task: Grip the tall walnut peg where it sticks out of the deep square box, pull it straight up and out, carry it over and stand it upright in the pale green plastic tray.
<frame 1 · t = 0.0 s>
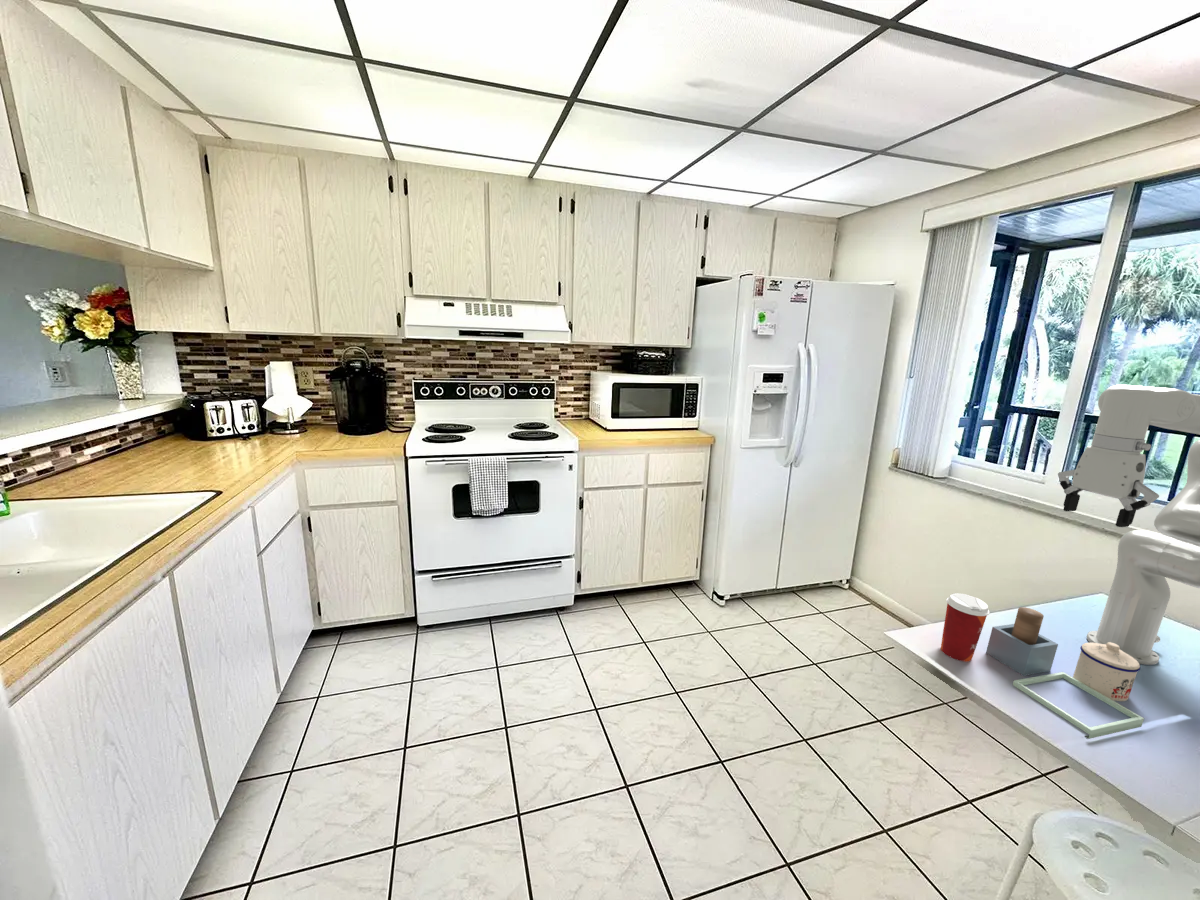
hand: (1094, 518, 108), 37 cm above the table, tool pointing down, fingers open, 9 cm apart
tray: (1073, 706, 101), on the table
teacup with lid: (1100, 689, 107), on the table
peg: (1017, 661, 113), point 1 cm above the table, touching deep square box
coffee cup: (954, 657, 116), on the table
deep square box: (1016, 665, 114), on the table
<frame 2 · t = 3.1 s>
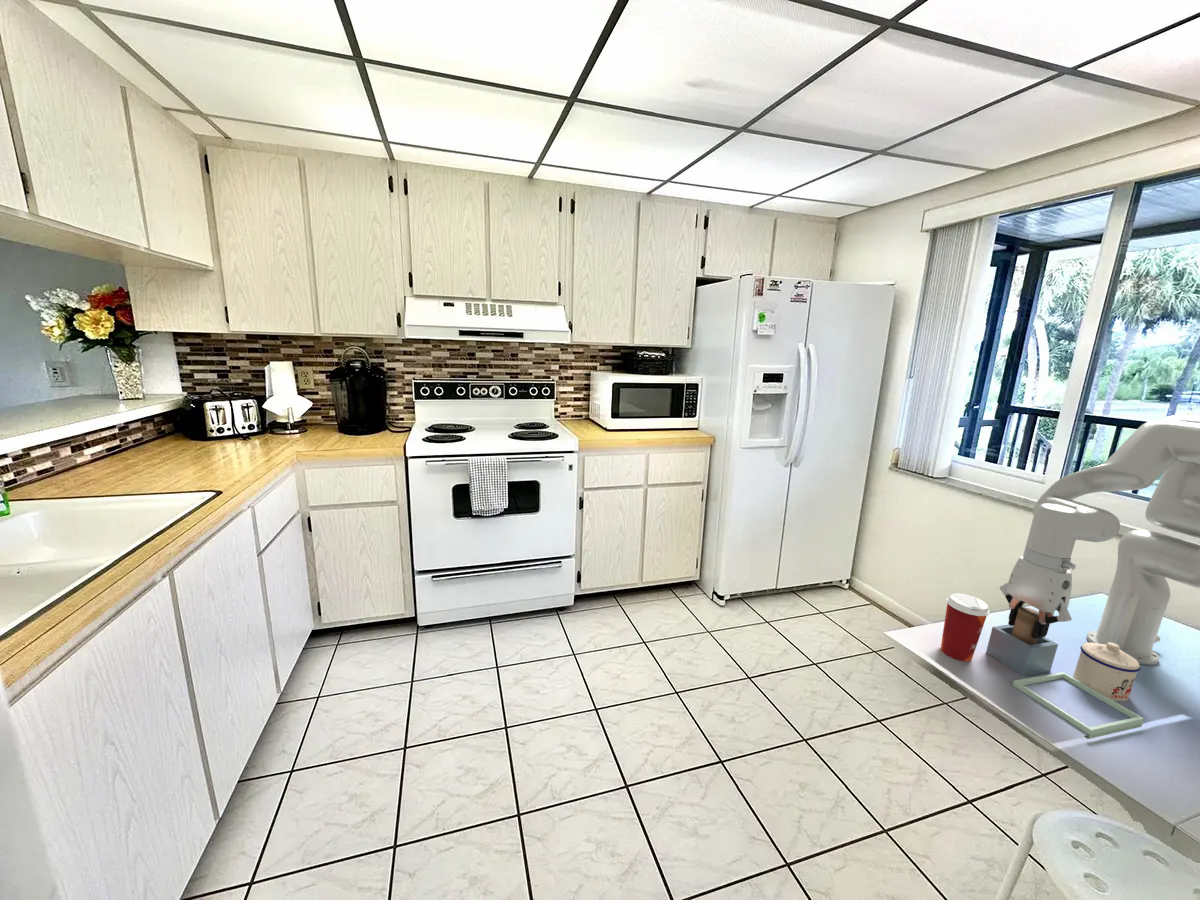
hand: (1025, 630, 111), 9 cm above the table, tool pointing down, fingers closed on peg, 4 cm apart
peg: (1017, 661, 113), point 1 cm above the table, touching deep square box, gripper
everything else where it was.
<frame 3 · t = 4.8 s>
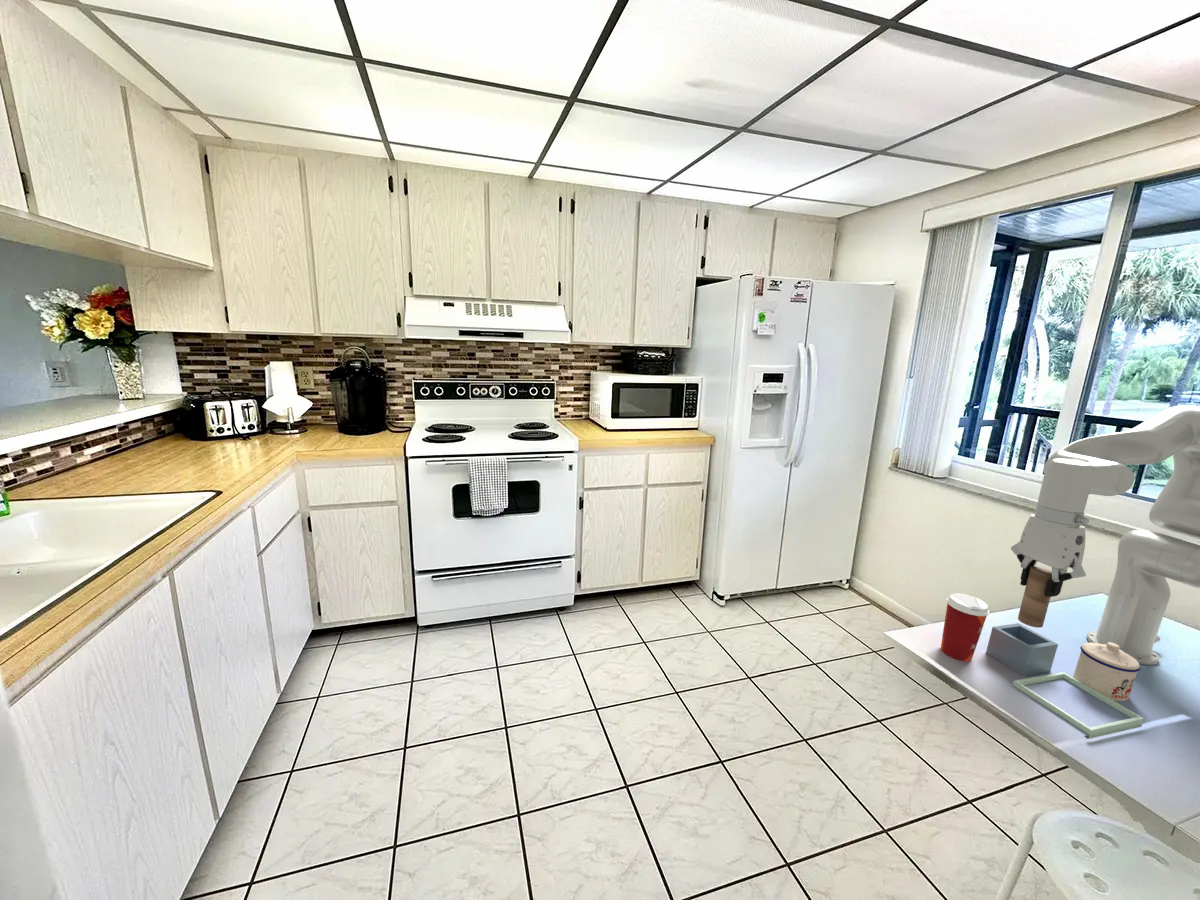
hand: (1038, 589, 109), 20 cm above the table, tool pointing down, fingers closed on peg, 4 cm apart
peg: (1030, 622, 111), point 11 cm above the table, touching gripper
everything else where it was.
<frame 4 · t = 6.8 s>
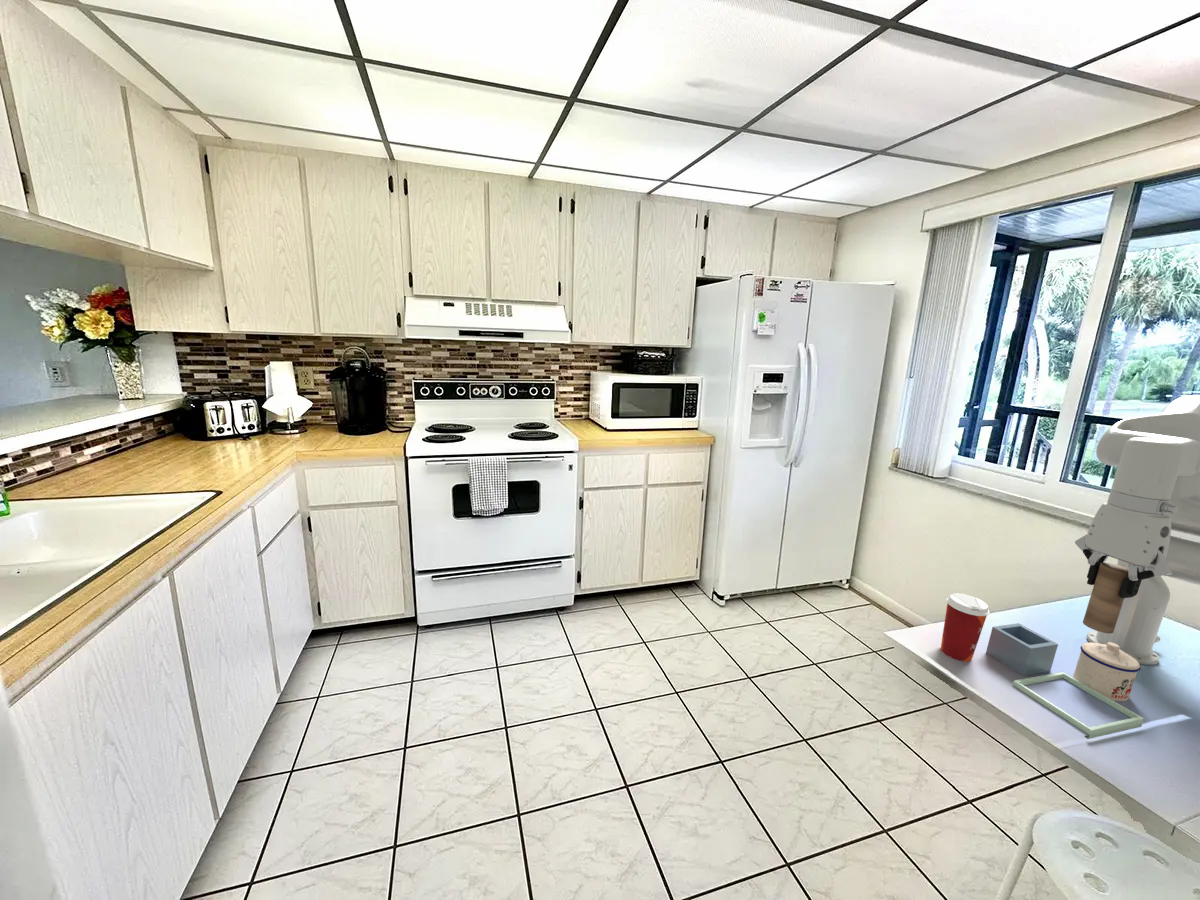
hand: (1109, 589, 95), 27 cm above the table, tool pointing down, fingers closed on peg, 4 cm apart
peg: (1097, 626, 97), point 19 cm above the table, touching gripper
everything else where it was.
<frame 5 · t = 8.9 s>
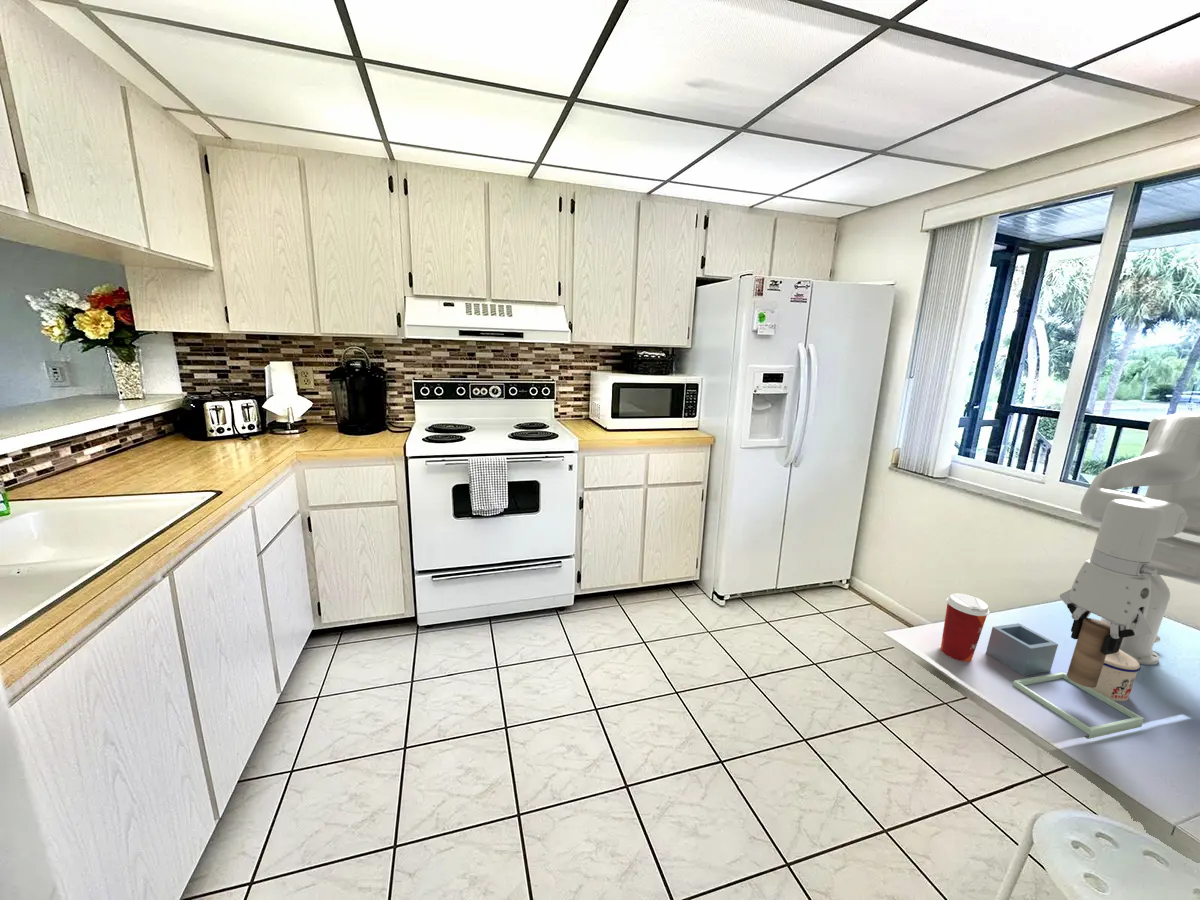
hand: (1092, 644, 97), 15 cm above the table, tool pointing down, fingers closed on peg, 4 cm apart
peg: (1081, 680, 99), point 7 cm above the table, touching gripper
everything else where it was.
when the fingers open (11 cm above the table, at t = 10.6 s): peg drops 1 cm, resting on tray.
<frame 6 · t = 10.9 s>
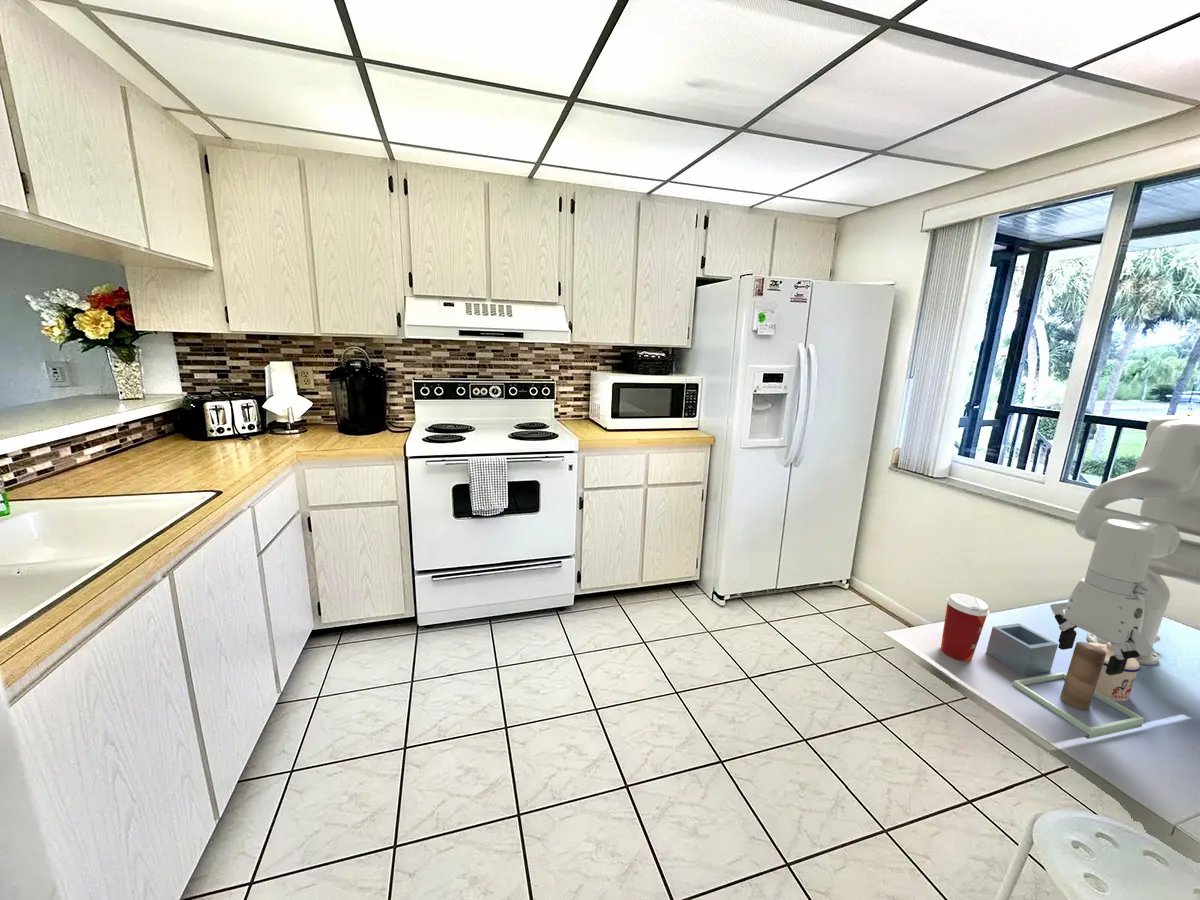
hand: (1088, 660, 98), 11 cm above the table, tool pointing down, fingers open, 7 cm apart
peg: (1074, 703, 101), point 1 cm above the table, touching tray
everything else where it was.
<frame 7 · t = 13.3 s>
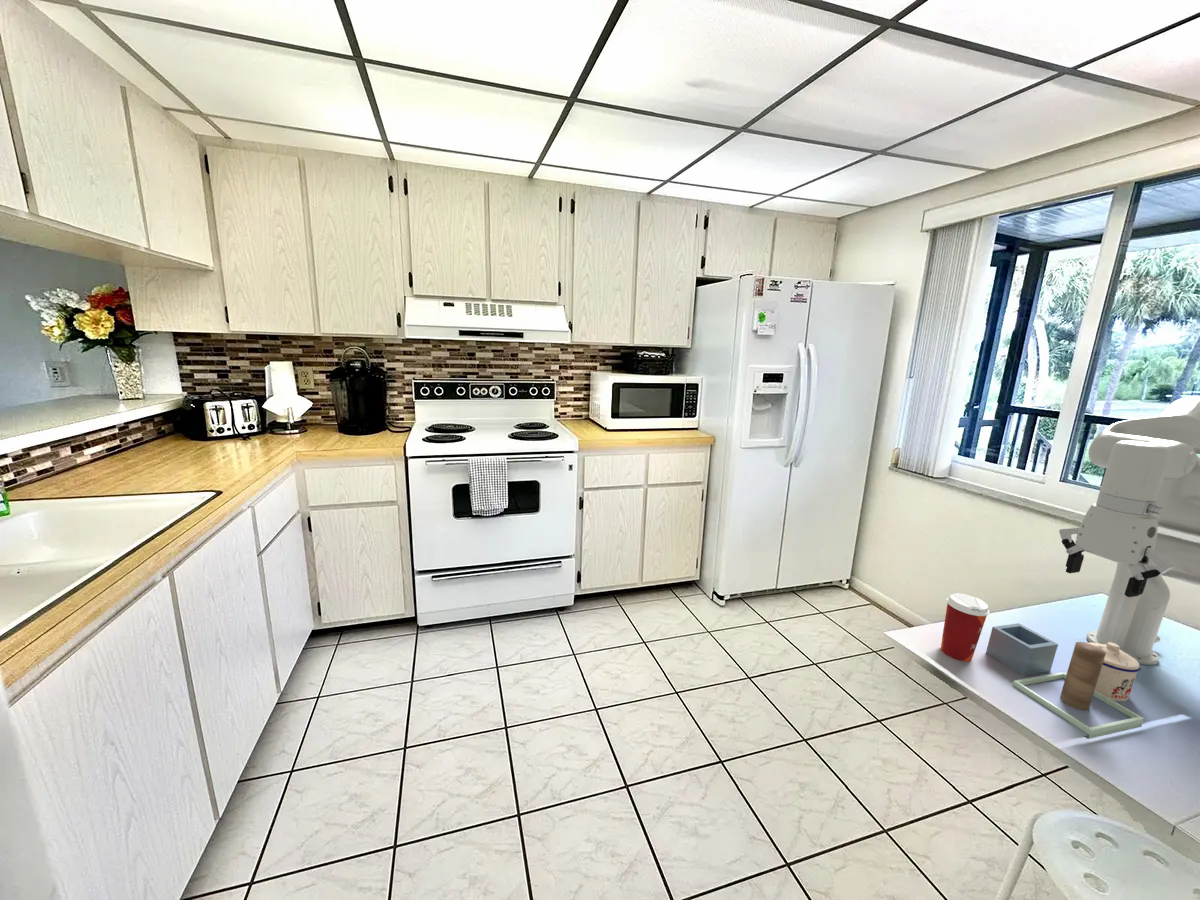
hand: (1100, 583, 97), 27 cm above the table, tool pointing down, fingers open, 9 cm apart
nothing on the table moved.
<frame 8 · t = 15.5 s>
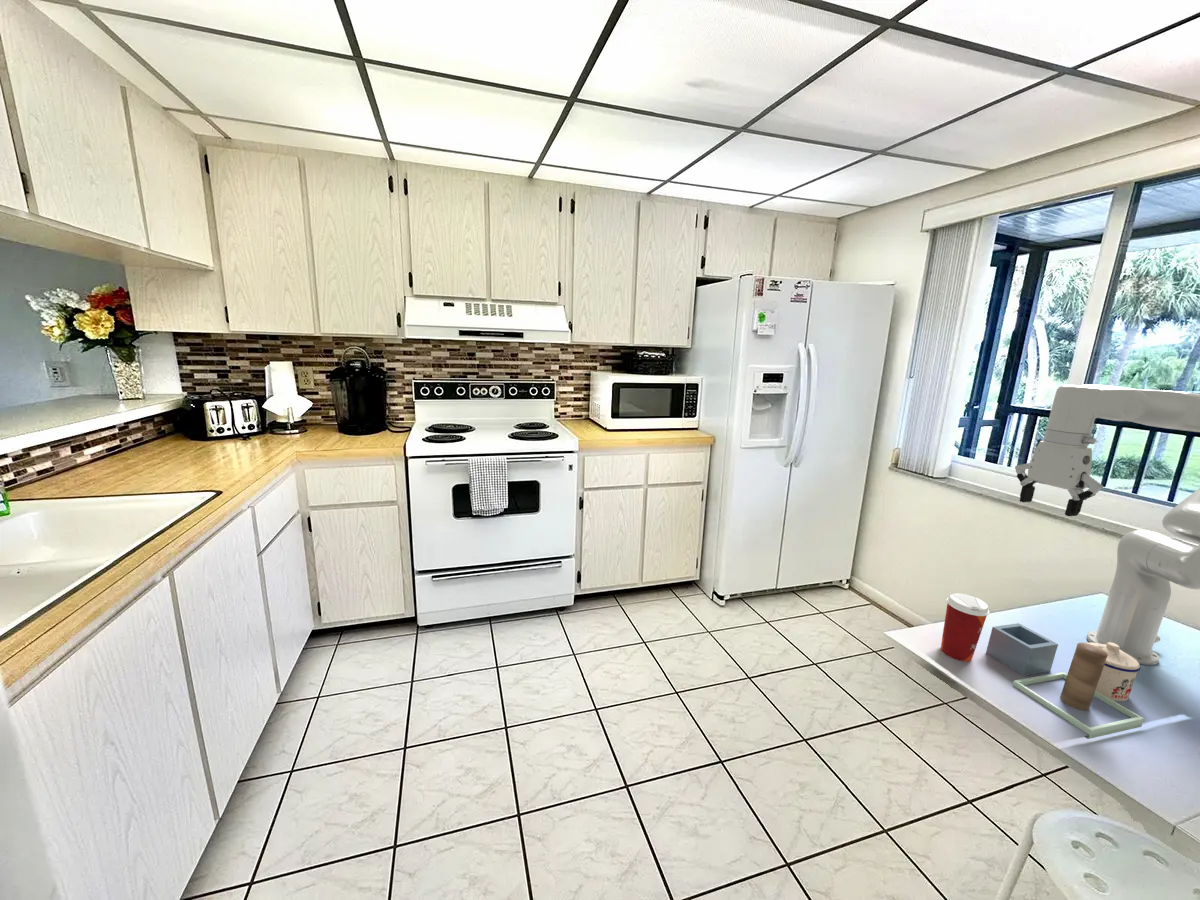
hand: (1047, 508, 115), 36 cm above the table, tool pointing down, fingers open, 9 cm apart
nothing on the table moved.
at the end: peg inside the target area on the tray (0.1 cm from its centre), point 0.8 cm above the tray's base; peg tilted 1°; the gripper is holding nothing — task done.
